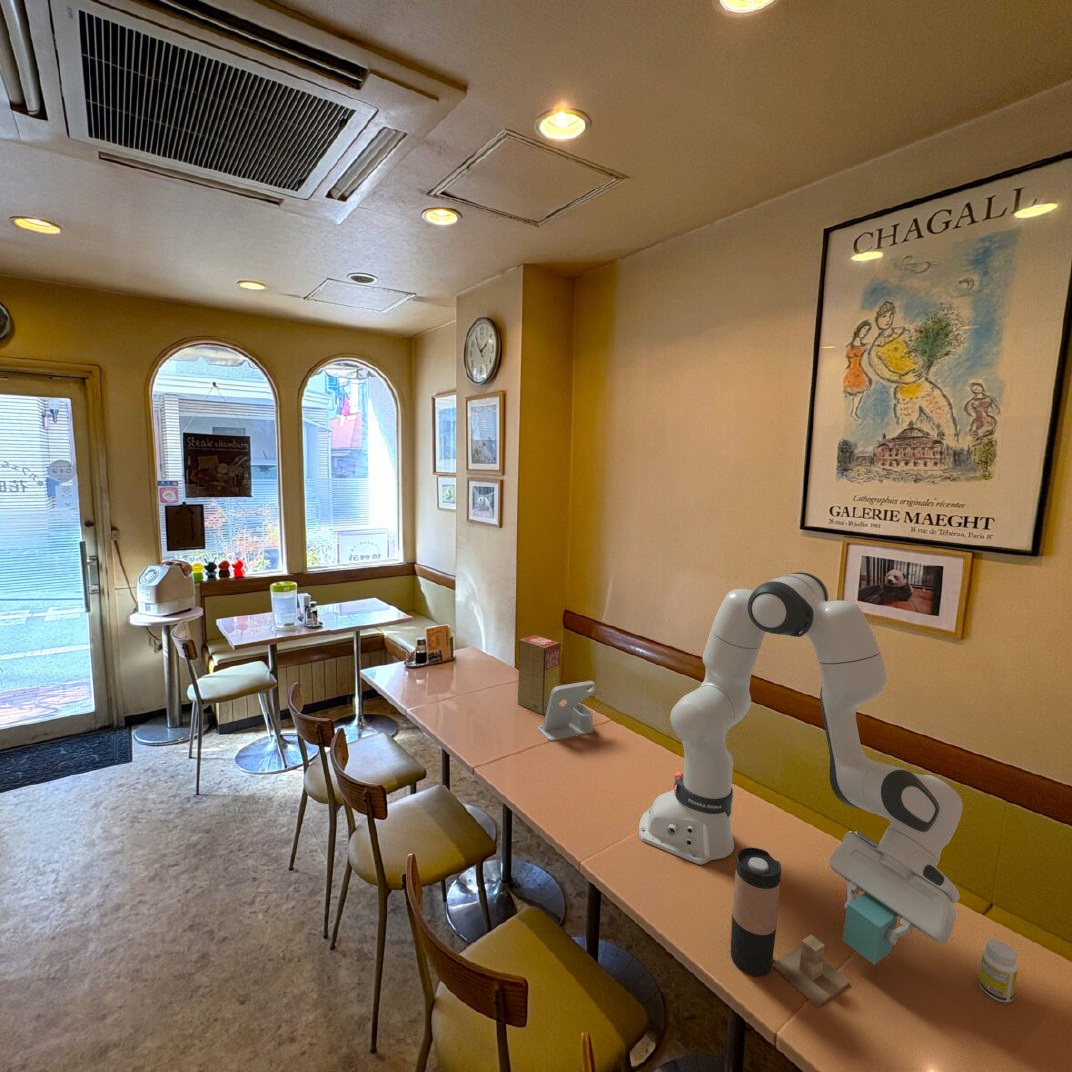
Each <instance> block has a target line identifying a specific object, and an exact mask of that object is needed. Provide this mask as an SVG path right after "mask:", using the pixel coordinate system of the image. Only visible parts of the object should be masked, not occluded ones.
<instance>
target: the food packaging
mask: <svg viewBox="0 0 1072 1072" xmlns="http://www.w3.org/2000/svg"><path fill="white" fill-rule="evenodd" d="M518 642H519V644H518V645H519V646H518V648H519V649H518V652H519V653H518V685H517V686H518V689H517V690H518V691H517V704H518V705H519V706H521V707H524V708H525V709H528V710H530V711H532V712H535V713H536V714H540V715H541V716H544V715H546V711H547V707H548V703H549V698H550V694H551V691H552V689H553V688H555V687H556V686H560V671H561V669H560V668H561V667H560V666H561V645H562V643H561V642H560V641H555V640H553V639H552V640H551V639H549V638H546V637H543V636H539V635H536V634H533V635H531V636H527V637H522V638H520V639H519V641H518Z"/></svg>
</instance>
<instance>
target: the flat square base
mask: <svg viewBox="0 0 1072 1072" xmlns="http://www.w3.org/2000/svg"><path fill="white" fill-rule="evenodd" d="M825 947H826V946H825V944H824V943H823V942H821V941H820V940H819V939H817V938H816V936H814V935H813V934H809V935H808V936H807V937H805V938H803V939H802V941H801V945H798V947H796V948H794V949H793V950H792V951H790V952H789V953H787V954H785V955H784V956H782V957H781V958H779V959H778V960H776V961H774V963H773V962H772V966H771V968H774V970H776V971H777V972H778V973H779V974H780V975H781V976H782V977H784V978H785V980H787V981H788V982H789V983H790V984H791V985H792V986H793V987H795V988H796V989H797V990H798V991H799V992H800V993H801V994H802V995H803V996H805V998H807V999H808V1000H809V1001H810V1002H811V1003H812V1004H813V1005H814V1006H815V1007H817V1008H820V1007H821V1006H822V1005H823V1004H825V1003H827V1002H828V1001H830V999H831V998H833V997H834V996H835V995H837V994H838V993H840V992H841V991H842V990H843V989H845V988H846V987H848V986H849V985H850V980H849V979H848V978H846V977H845V976H844V975H842V974H841V973H840V972H839V971H837V970H836V969H835V968H834V967H832V966H831V965H830V964H829V963H828V962H826V961H825V960H824V955H825Z"/></svg>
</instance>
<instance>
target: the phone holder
mask: <svg viewBox="0 0 1072 1072" xmlns="http://www.w3.org/2000/svg"><path fill="white" fill-rule="evenodd" d="M588 688H589V689H588ZM596 691H597V684H596V683H595V682H594V680H586V681H581V682H573V683H568V684H563V685H559V686H556V687H555V688H553V689H552V691H551V694H550V698H549V703H548V707H547V711H546V714H545V716H544V721H543V725H539V726H537V730H538V732H539V733H540V734H541V735H542V736H543V737H544V738H545V739H546V740H547V741H549V742H555V741H559V740H565V739H569V738H568V737H570V738H573V737H572V736H575V737H577V736H576V735H579V736H583V734H584V735H587V734H588V733H589V734H592V733H593V732H594V728H593V716H594V714H593V712H592V711H591V710H590V709H588V707H586V706H585V705H584V704H580V703H582V702H584V700H586V699H587V698H589V697H591V696H592V695H593V694H594V693H596ZM563 700H565V701H566V702H565V703H564V704H562V705H560V703H561V702H562V701H563ZM564 738H565V739H564Z"/></svg>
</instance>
